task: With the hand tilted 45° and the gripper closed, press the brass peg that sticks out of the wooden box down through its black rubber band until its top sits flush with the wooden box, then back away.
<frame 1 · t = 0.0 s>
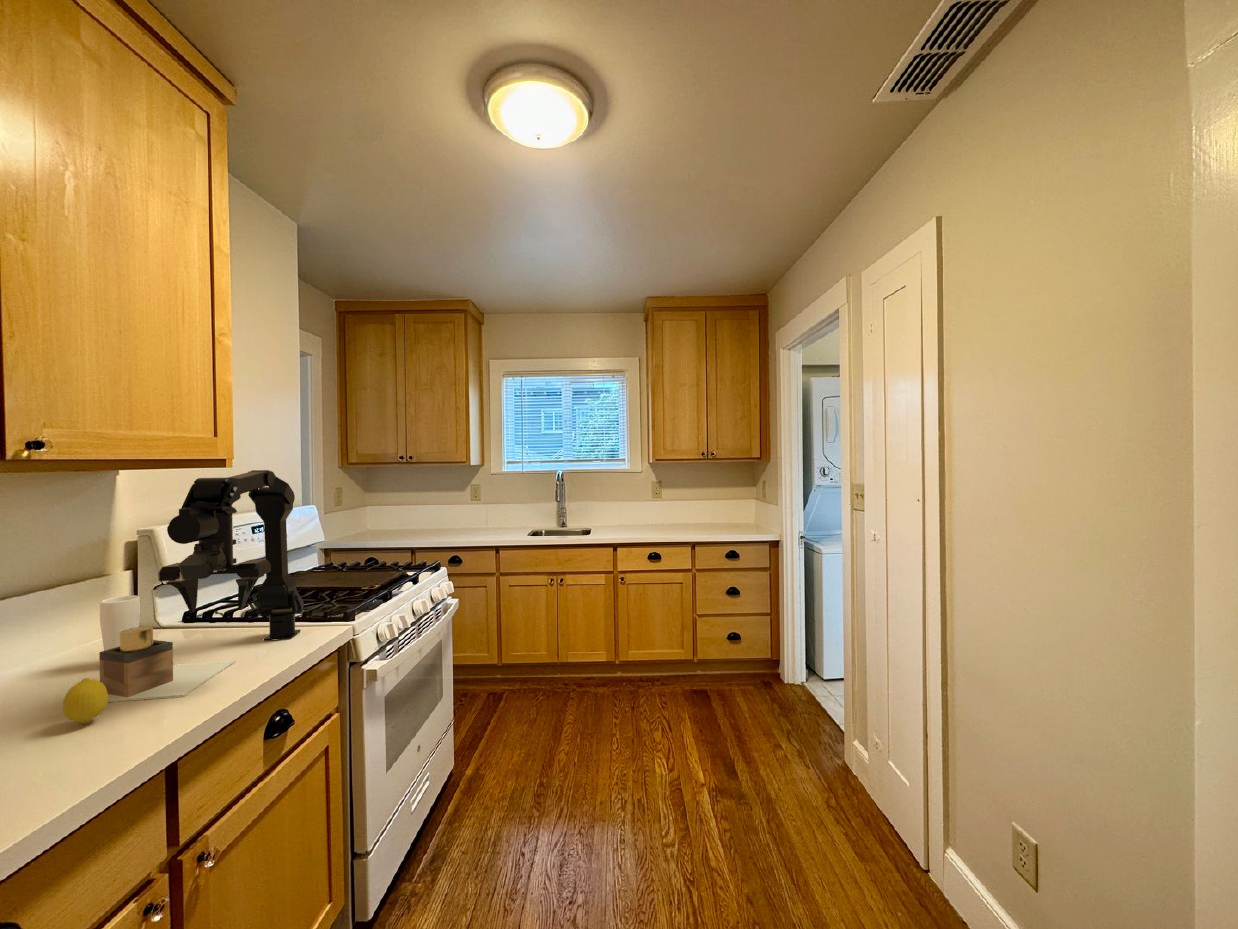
hand: (217, 610, 111), 15 cm above the worktop, tool pointing down, fingers open, 9 cm apart
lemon: (86, 725, 93), on the worktop
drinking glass: (121, 664, 121), on the worktop
wooden box: (137, 688, 107), resting on mat
mat: (164, 681, 111), on the worktop
peg: (136, 648, 107), point 8 cm above the worktop, slide at 3.5 cm
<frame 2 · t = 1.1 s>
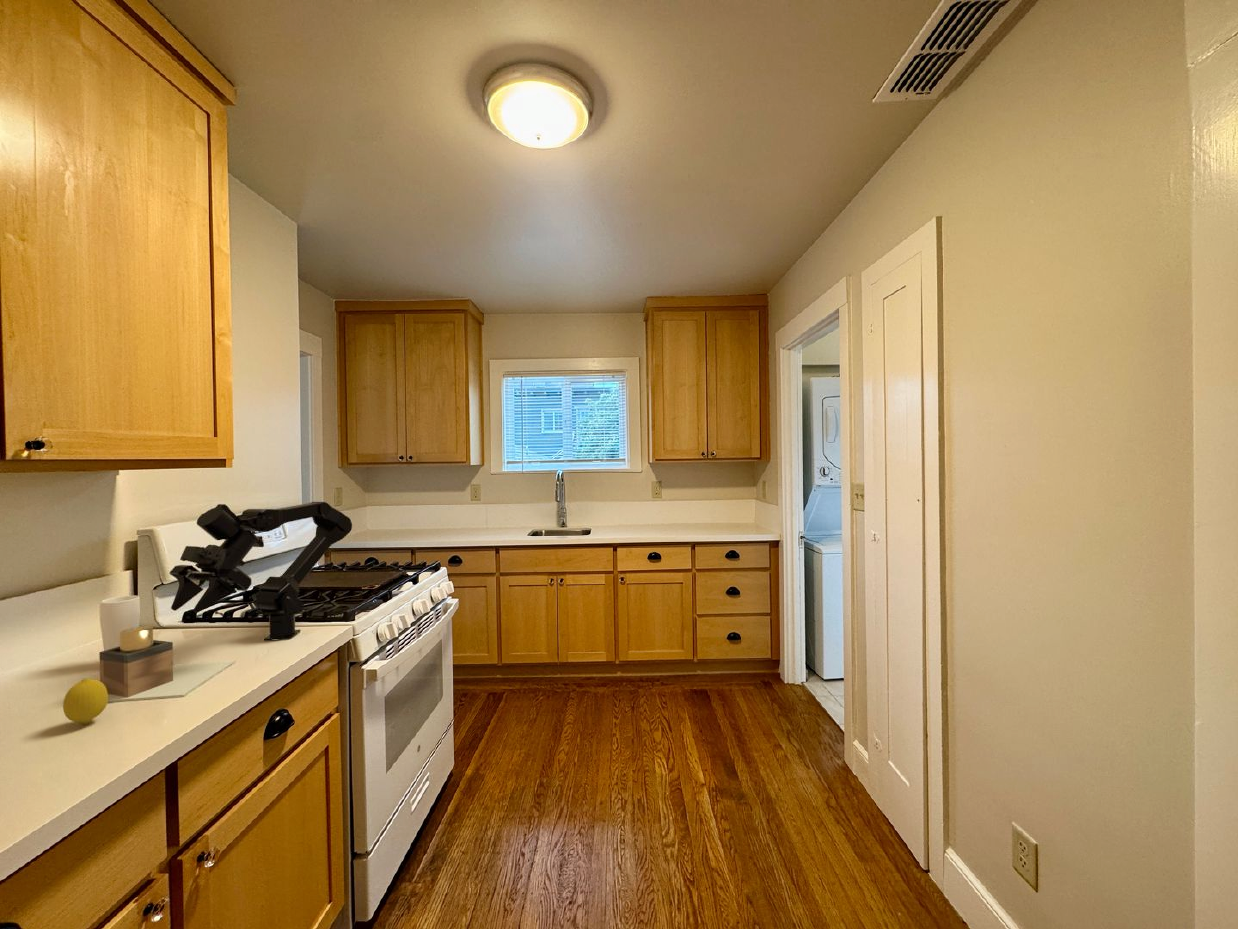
hand: (184, 610, 116), 13 cm above the worktop, tool tilted 45°, fingers open, 6 cm apart
nothing on the worktop moved.
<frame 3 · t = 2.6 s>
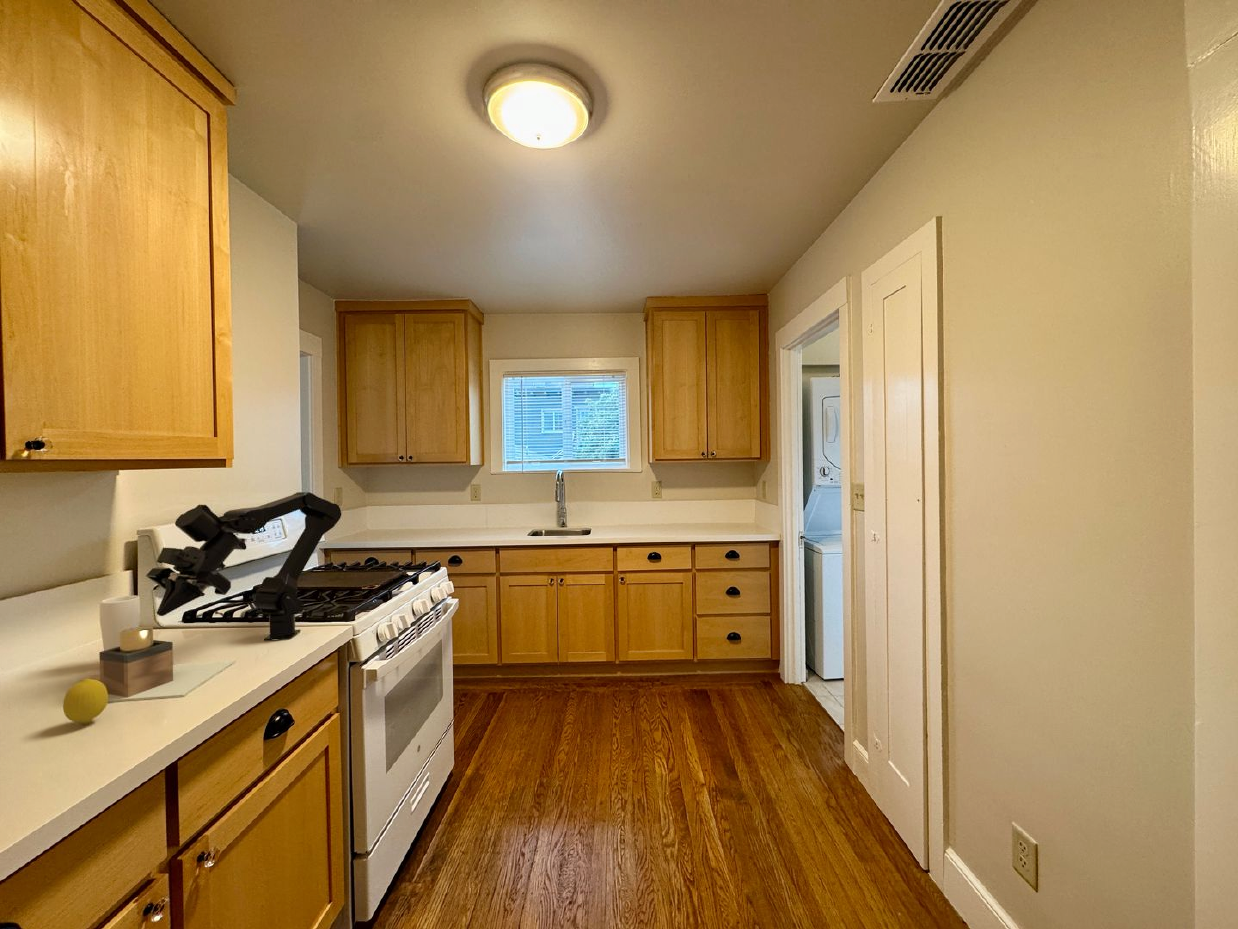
hand: (159, 615, 111), 14 cm above the worktop, tool tilted 45°, fingers closed
nothing on the worktop moved.
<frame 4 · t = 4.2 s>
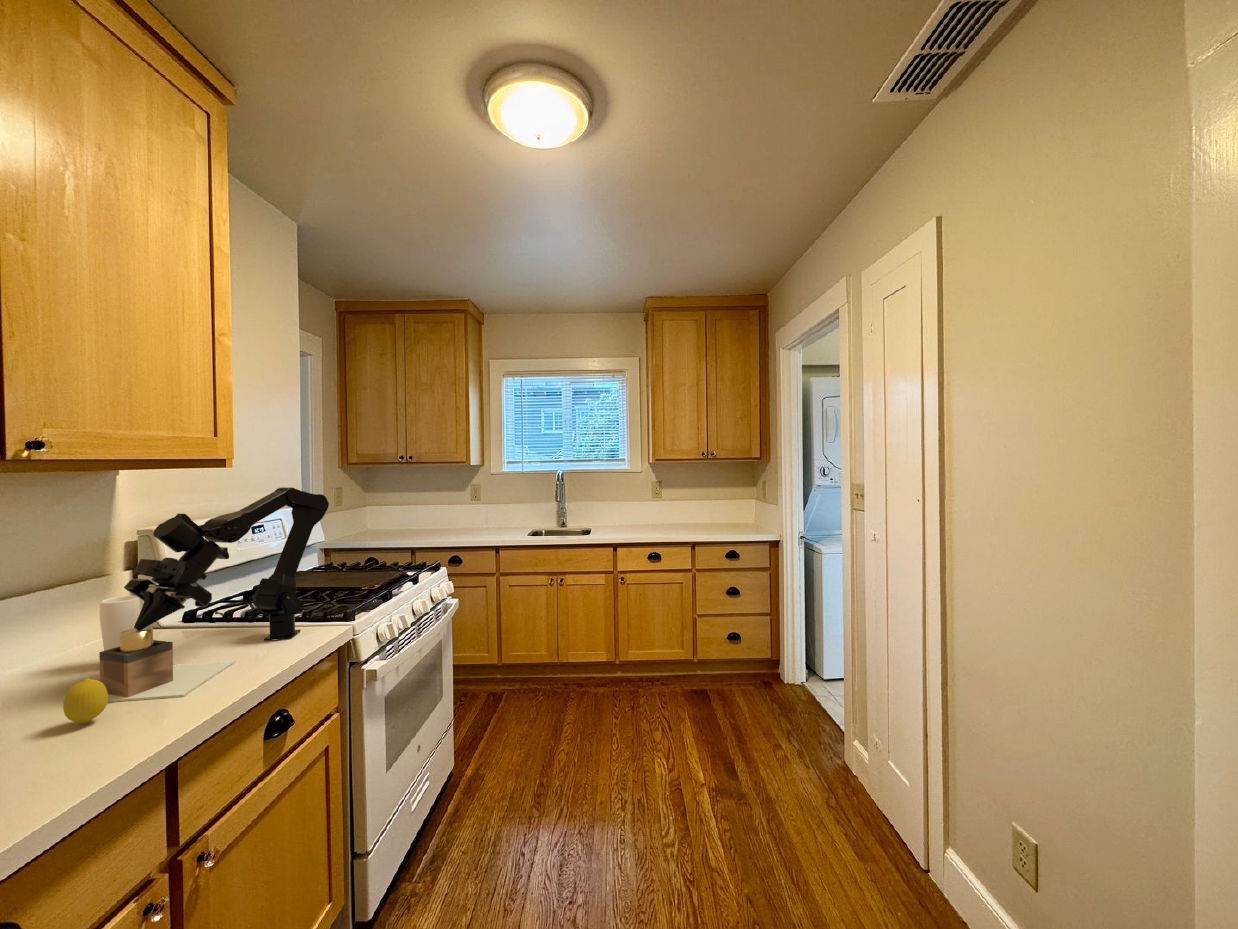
hand: (136, 629, 107), 12 cm above the worktop, tool tilted 45°, fingers closed, pressing on peg
peg: (136, 649, 107), point 8 cm above the worktop, slide at 3.4 cm, touching gripper
everything else where it was.
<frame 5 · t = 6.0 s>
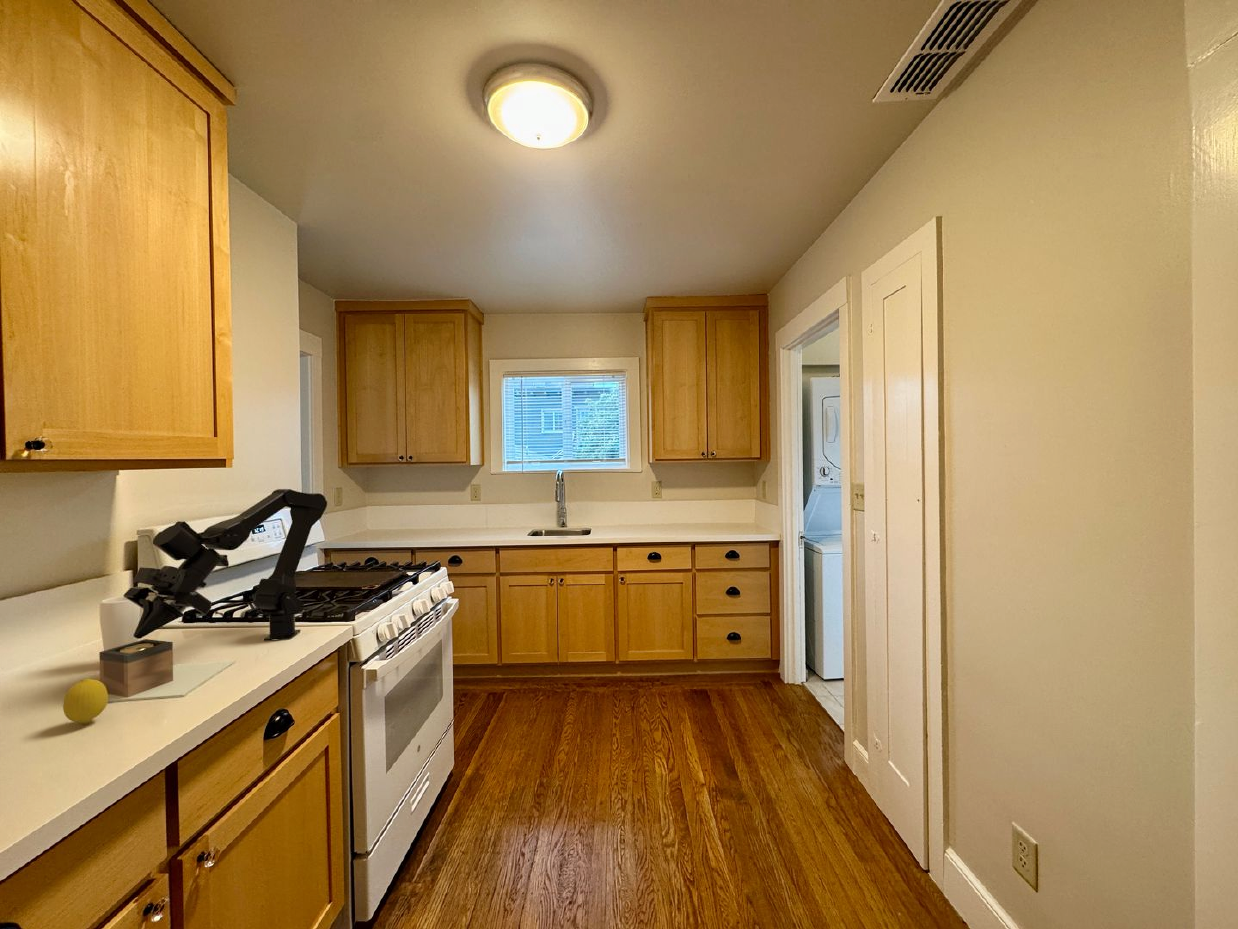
hand: (136, 637, 107), 10 cm above the worktop, tool tilted 45°, fingers closed
peg: (137, 666, 107), point 5 cm above the worktop, slide at -0.1 cm
everything else where it was.
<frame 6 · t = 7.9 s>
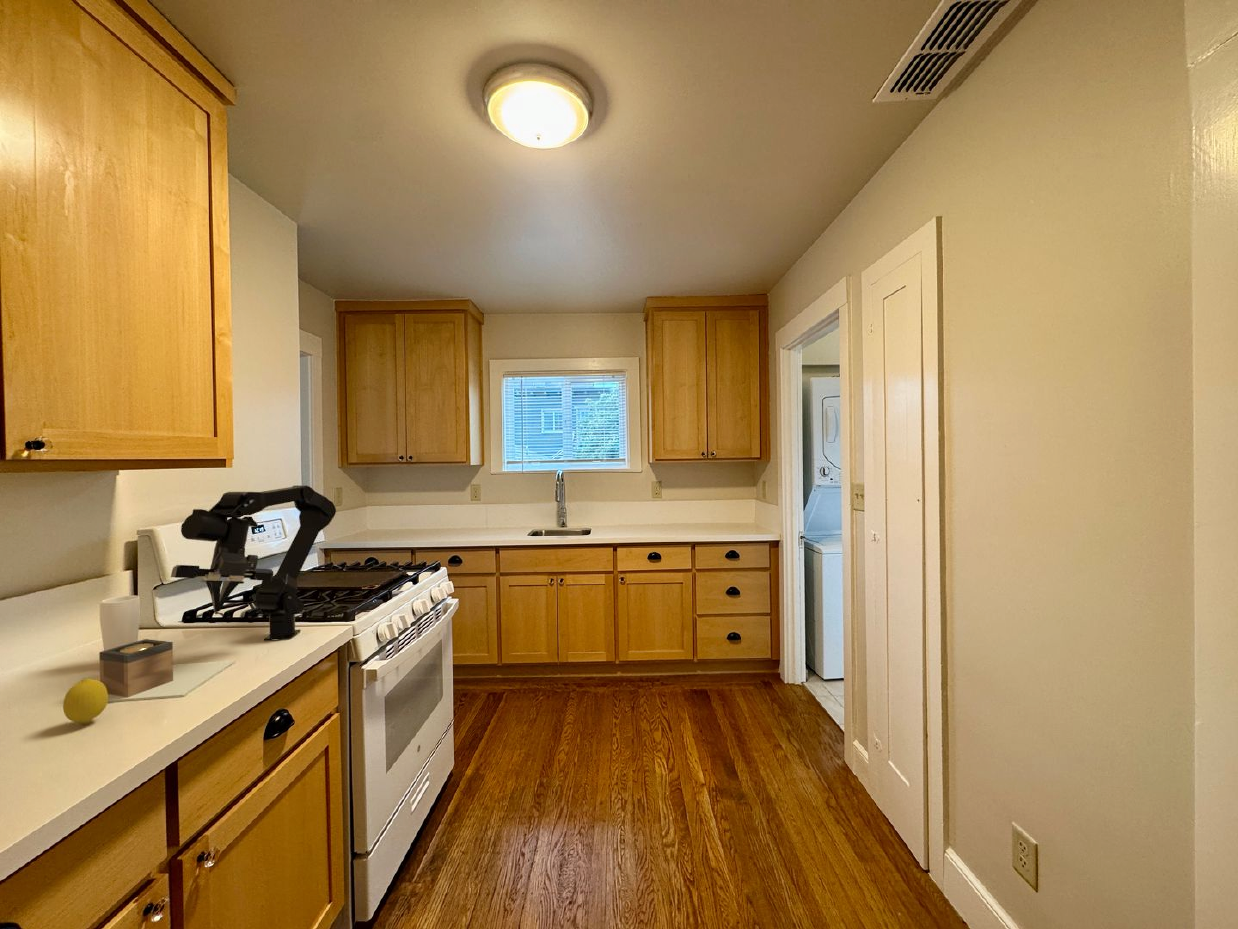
hand: (216, 611, 121), 12 cm above the worktop, tool pointing down, fingers closed
nothing on the worktop moved.
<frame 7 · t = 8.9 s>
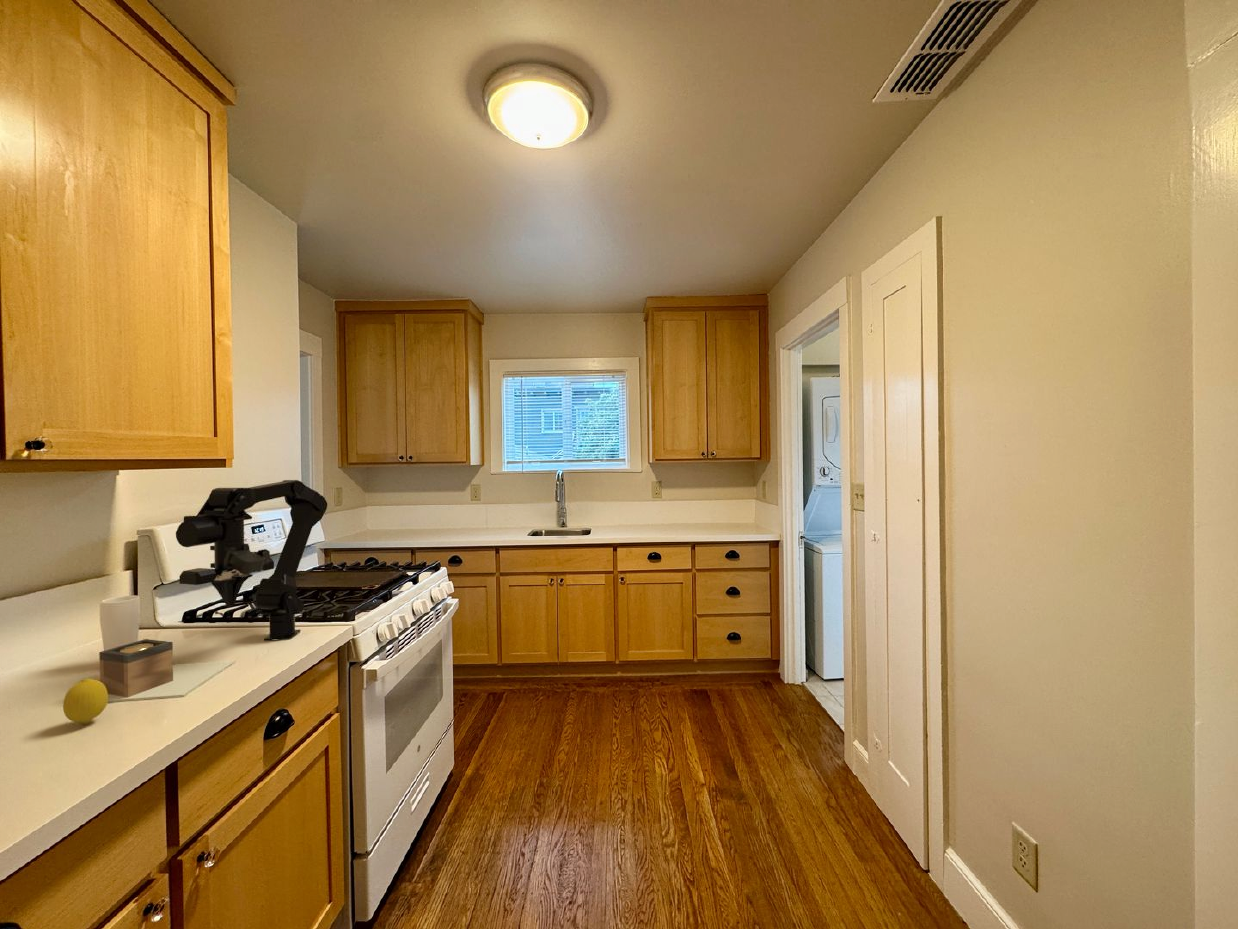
hand: (230, 606, 124), 12 cm above the worktop, tool pointing down, fingers closed
nothing on the worktop moved.
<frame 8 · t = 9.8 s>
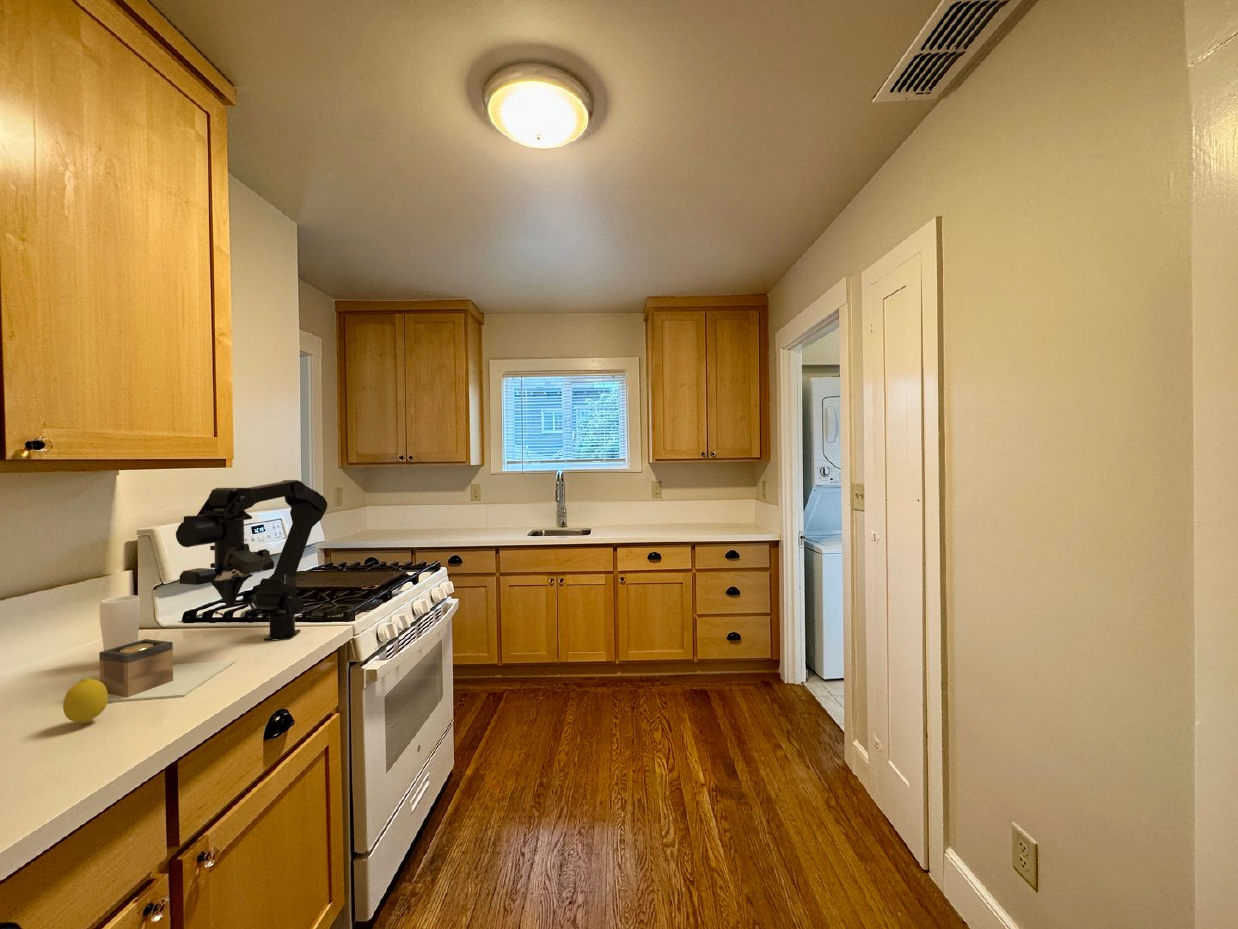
hand: (230, 606, 124), 12 cm above the worktop, tool pointing down, fingers closed
nothing on the worktop moved.
at the end: peg slide at -0.1 cm; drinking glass moved 0.2 cm from its start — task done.
